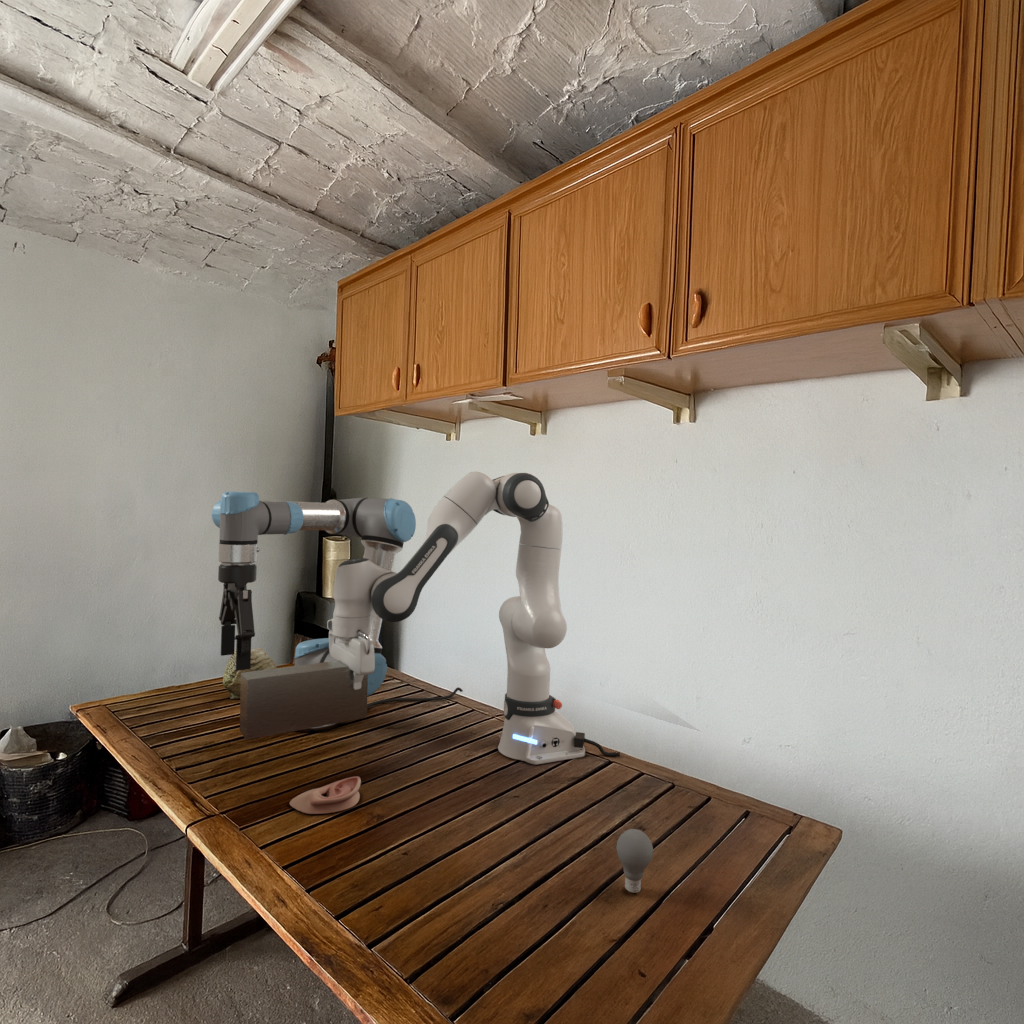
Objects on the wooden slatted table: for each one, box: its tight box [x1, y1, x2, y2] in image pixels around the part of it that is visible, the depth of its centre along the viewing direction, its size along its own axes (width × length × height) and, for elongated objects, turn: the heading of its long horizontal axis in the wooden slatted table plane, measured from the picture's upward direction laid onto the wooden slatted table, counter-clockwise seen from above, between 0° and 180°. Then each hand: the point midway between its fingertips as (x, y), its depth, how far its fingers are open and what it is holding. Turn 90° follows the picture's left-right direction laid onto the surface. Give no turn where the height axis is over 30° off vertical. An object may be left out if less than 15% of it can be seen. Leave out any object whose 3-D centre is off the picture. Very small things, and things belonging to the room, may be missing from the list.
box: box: [239, 661, 368, 741], centre depth 145 cm, size 27×6×13 cm, turn 125°
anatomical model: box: [289, 775, 362, 815], centre depth 131 cm, size 13×4×12 cm
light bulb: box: [615, 828, 654, 894], centre depth 106 cm, size 6×6×10 cm
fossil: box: [222, 647, 277, 699], centre depth 198 cm, size 9×18×15 cm, turn 132°
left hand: (234, 661), depth 136 cm, fingers open, 13 cm apart
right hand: (350, 684), depth 151 cm, fingers closed on box, 6 cm apart
